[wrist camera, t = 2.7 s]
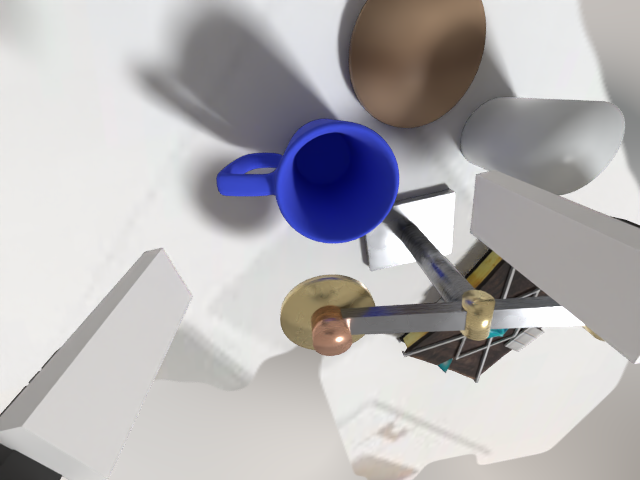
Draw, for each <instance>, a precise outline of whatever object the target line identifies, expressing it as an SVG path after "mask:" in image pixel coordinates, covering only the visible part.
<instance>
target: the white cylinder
mask: <svg viewBox="0 0 640 480" xmlns="http://www.w3.org/2000/svg"><path fill="white" fill-rule="evenodd" d="M624 131H625V120H624V116H623V114H622V112H621V110H620V109H619V108H618V107H617V106H616V105H614V104H612V103H610V102H604V101H583V100H560V99H537V98H514V97H499V98H495V99H492V100H489V101H487V102H486V103H484V104H482V105H481V106H480V107H479V108H477V109H476V110H475V111H474V113H473V114H472V115H471V116H470V118H469V119H468V121H467V122H466V124H465V126H464V129H463V131H462V135H461V150H462V153H463V155H464V157H465V159H466V160H467V161H469V162H470V163H472V164H474V165H477V166H479V167H481V168H484V169H486V170H489V171H492V170H496V171H499V172H501V173H504V174H506V175H509V176H511V177H513V178H516V179H518V180H521V181H523V182H526V183H528V184H531V185H533V186H536V187H538V188H541V189H543V190H546V191H548V192H551V193H553V194H556V195H564V194H568V193H571V192H573V191H576V190H578V189H580V188H582V187H583V186H585V185H587V184H588V183H590V182H591V181H592V180H594V179H595V178H596V177H597V176H598V175H599V174H600V173H601V172H602V171H603V170H604V169H605V168H606V167H607V166H608V165H609V163H610V162H611V161H612V159H613V158H614V156H615V155H616V153H617V151H618V149H619V147H620V145H621V143H622V140H623V136H624Z"/></svg>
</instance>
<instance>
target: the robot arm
mask: <svg viewBox="0 0 640 480" xmlns="http://www.w3.org/2000/svg"><path fill="white" fill-rule="evenodd" d="M470 233H471V234H473V235H474V236H475V237H476V238H478V239H479V240H480V241H481V242H483V243H484V244H485V245H486V246H488V247H489V248H490V249H491V250H492V251H494V252H495V253H496V254H497V255H499V256H500V257H501V258H502V259H504V260H505V261H506V262H507V263H509V264H510V265H511V266H512V267H514V268H515V269H516V270H517V271H519V272H520V273H521V274H522V275H524V276H525V277H526V278H527V279H529V280H530V281H531V282H532V283H534V284H535V285H536V286H537V287H538V288H540V289H541V290H542V291H543V292H545V293H546V294H547V295H548V296H550V297H551V298H552V299H553V300H555V301H556V302H557V303H558V304H560V305H561V306H562V307H563V308H565V309H566V310H567V311H568V312H570V313H571V314H572V315H573V316H575V317H576V318H577V319H578V320H580V321H581V322H582V323H583V324H584V325H586V326H587V327H588V328H589V329H591V330H592V331H593V332H594V333H596V334H597V335H598V336H599V337H601V338H602V339H603V340H604V341H606V342H607V343H608V344H609V345H611V346H612V347H613V348H614V349H616V350H617V351H618V352H619V353H621V354H622V355H623V356H624V357H626V358H627V359H628V360H629V361H630V362H632V363H633V364H636V363H640V225H637V224H635V223H632V222H630V221H627V220H624V219H620V218H615V217H611V216H608V215H605V214H603V213H600V212H598V211H595V210H593V209H590V208H588V207H585V206H583V205H580V204H578V203H575V202H573V201H571V200H568V199H566V198H563V197H561V196H558V195H556V194H553V193H551V192H548V191H546V190H543V189H541V188H538V187H536V186H533V185H531V184H528V183H526V182H523V181H521V180H518V179H516V178H513V177H511V176H509V175H506V174H504V173H501V172H499V171H496V170H492V171H488V172H484V173H480V174H476V180H475V189H474V199H473V209H472V218H471V228H470ZM192 297H193V296H192V294H191V293H190V291H189V289H188V288H187V286H186V285H185V283H184V281H183V280H182V278H181V276H180V275H179V273H178V272H177V270H176V268H175V267H174V265H173V264H172V262H171V260H170V259H169V257H168V255H167V254H166V252H165V251H164V249H163V248H159V249H155V250H151V251H146V252H144V253H143V254H142V256H141V257H140V258H139V259H138V260H137V261H136V262H135V264H134V265H133V266H132V267H131V268H130V269H129V270H128V272H127V273H126V274H125V275H124V276H123V277H122V278H121V280H120V281H119V282H118V283H117V284H116V285H115V286H114V288H113V289H112V290H111V291H110V292H109V293H108V294H107V296H106V297H105V298H104V299H103V300H102V301H101V302H100V304H99V305H98V306H97V307H96V308H95V309H94V310H93V312H92V313H91V314H90V315H89V316H88V317H87V318H86V319H85V321H84V322H83V323H82V324H81V325H80V326H79V327H78V329H77V330H76V331H75V332H74V333H73V334H72V335H71V337H70V338H69V339H68V340H67V341H66V342H65V343H64V345H63V346H62V347H61V348H59V349H58V350H57V351H56V352H55V353H54V354H53V355H52V357H51V358H50V359H49V360H48V361H47V362H46V363H45V364H44V366H43V367H42V370H41V371H38V372H37V374H36V375H35V376H34V377H33V378H32V379H31V380H30V381H29V384H28V386H25V387H24V388H23V389H22V391H21V392H20V393H19V394H18V395H17V396H16V397H15V398H14V400H13V401H12V402H11V403H10V404H9V405H8V406H7V408H6V409H5V410H4V411H3V412H2V413H1V414H0V480H60V479H61V477H64V478H66V479H68V480H106V479H109V477H110V475H111V472H112V470H113V468H114V466H115V464H116V462H117V459H118V457H119V455H120V453H121V450H122V449H123V446H124V444H125V442H126V440H127V438H128V436H129V433H130V431H131V429H132V427H133V425H134V422H135V420H136V418H137V416H138V414H139V412H140V409H141V407H142V405H143V403H144V401H145V398H146V396H147V394H148V392H149V390H150V388H151V386H152V384H153V381H154V379H155V377H156V375H157V373H158V371H159V368H160V366H161V364H162V362H163V360H164V358H165V355H166V353H167V351H168V349H169V347H170V345H171V342H172V340H173V338H174V336H175V334H176V332H177V329H178V327H179V325H180V323H181V321H182V319H183V316H184V314H185V312H186V310H187V308H188V306H189V303H190V301H191V299H192Z"/></svg>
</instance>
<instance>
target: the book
mask: <svg viewBox="0 0 640 480" xmlns="http://www.w3.org/2000/svg"><path fill="white" fill-rule="evenodd" d="M464 278H465V279H466V280H467V281H468V282H469V283H470V284H471V285H472V286H473V287H474V288H475V290H481V291H484V292H487V293H488V294H490V295H491V296H492V297H493V298H494V299H508V298H525V297H541V296H548V295H547V294H546V293H545V292H543V291H542V290H541V289H540V288H538V287H537V286H536V285H535V284H534V283H532V282H531V281H530V280H529V279H527V278H526V277H525V276H524V275H522V274H521V273H520V272H519V271H517V270H516V269H515V268H514V267H512V266H511V265H510V264H509V263H507V262H506V261H505V260H504V259H502V258H501V257H500V256H499V255H497V254H496V253H495V252H494V251H492V250H491V249H489V251H488V252H487V253H486V254H485V255H484V256H483V257H482V259H481V260H480V261H479V262H478V263H477V264H476V265H475V267H474V268H473V269H472V270H471V271H470V272H469V273H468V274H467V275H466V276H465V277H464ZM442 302H445V300H444V299H443V297H441V298H440V299H439V300H438V301H437V302H436V303H442ZM540 328H542V327H532V328H507V329H490V332H489V336H488V337H487V338H486V339H485V340H481V341H476V340H471V339H469V338H467V337H465V336H464V335H463V334H462V333H461V331H460V330H458V331H434V332H410V333H405V334H404V335H403V336H401V337H400V338H398V341H399V342H401V341H402V342H404V343H405V344H406V346H407V349H406V351H405V352H404V351H402V353H403V355H404V357H407V356H410V357H414V358H417V359H420V360H423V361H427V362H429V363H432V364H435V365H438V366H439V367H440V368H441V369H442V370H443V371H444V372H445V373H446V371H447V369H449V370H452V371H455V372H457V373H460V374H462V375H464V376H467V377H469V378H472V379H474V381H475V383H478V380H479V377H480V375H481V374H482V373H483V372H485V371H486V370H487V369H488V368H489V367H491V366H492V365H493V364H494V363H495V362H497V361H498V360H499V359H500V358H501V357H503V356H504V355H505V354H507V353H508V352H509V351H511V350H512V349H513V350H515V351H517V352H519V351H520V350H521V349H523V348H524V347H525V346H527V345H528V344H529V343H531V342H532V341H533V340H535V339H536V338H537V337H539V336H540V335H541V334H543V333H544V332H543V331H542V330H541V329H540Z"/></svg>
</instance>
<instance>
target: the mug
mask: <svg viewBox="0 0 640 480" xmlns="http://www.w3.org/2000/svg"><path fill="white" fill-rule="evenodd" d="M257 168H277V169H276V170H275V171H274V172H272V173H269V174H244V173H246V172H248V171H250V170H253V169H257ZM216 179H217V187H218V191H219V192H220V194H222V195H225V196H266V195H275V196H276V200H277V203H278V206H279V209H280V211H281V213H282V215H283V217H284V218H285V219H286V221H287V222H288V223H289V224H290V226H291V227H293V228H294V229H295V230H296V231H297V232H299V233H300V234H302V235H303V236H305V237H307V238H309V239H312V240H315V241H318V242H323V243H343V242H348V241H352V240H355V239H358V238H360V237H362V236H364V235H366V234H367V233H369V232H371V231H372V230H373V229H375V228H376V227H377V226H378V225H379V224H380V223H381V222H382V221H383V220H384V219H385V217H386V216H387V215H388V213H389V212H390V210H391V208H392V206H393V204H394V202H395V199H396V196H397V193H398V187H399V170H398V164H397V161H396V158H395V156H394V154H393V152H392V150H391V148H390V147H389V145H388V144H387V142H386V141H385V140H384V139H383V138H382V137H381V136H380V135H379V134H377V133H376V132H375V131H373V130H371V129H370V128H368V127H366V126H363V125H361V124H357V123H353V122H347V121H340V120H333V119H318V120H314V121H311V122H309V123H307V124H305V125H303V126H302V127H301V128H300V129H299V130H297V132H296V133H295V134H294V135H293V137H292V138H291V140H290V142H289V144H288V146H287V148H286V150H285V152H284V154H283V156H282V155H281V154H277V153H253V154H248V155H245V156H242V157H240V158H238V159H236V160H234V161H233V162H231V163H230V164H229V165H227V166H226V167H225V168H224V169H223V170H221V171H220V172H219V173H218V175H217V178H216Z"/></svg>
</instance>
